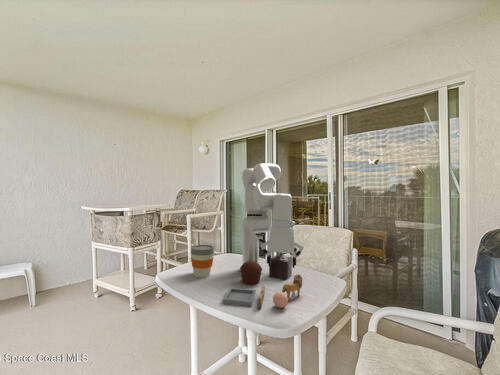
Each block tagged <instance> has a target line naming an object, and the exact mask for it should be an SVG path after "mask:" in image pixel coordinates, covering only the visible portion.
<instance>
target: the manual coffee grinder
mask: <svg viewBox="0 0 500 375" xmlns="http://www.w3.org/2000/svg"><path fill="white" fill-rule="evenodd" d="M297 251H298V247H296V246H294V252H295V253H296V252H297ZM289 255H291V256H293V255H292V254H291V253H289ZM292 264H293V257H289V256H286V255H283V253H280V254H278V255H277V254H276V255H274V256H271V265H270V266H268V277H270V278H276V279H282V280H288V279H289V278H290V277H292V275H291V274H293V267H292ZM288 277H289V278H288ZM287 278H288V279H287Z"/></svg>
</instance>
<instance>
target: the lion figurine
mask: <svg viewBox="0 0 500 375" xmlns="http://www.w3.org/2000/svg"><path fill="white" fill-rule="evenodd" d="M302 287H303V277H302V275H301V274H299V273H296V274H295V275H293V281H292V282H291V283H290V282H289V283H285V284H283V286H282V288H281V289H282V291H281V292H283V293H285V294H286V295H287V298H288V301H289V300H290V302H292V301H293V299H292V298H290V295H292V296H295V295H297V297H298V296H300V297H301V295H300V294H301V293H300V291H301V289H302ZM296 291H297V294H296ZM291 292H292V294H291ZM291 300H292V301H291Z"/></svg>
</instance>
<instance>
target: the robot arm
mask: <svg viewBox="0 0 500 375" xmlns="http://www.w3.org/2000/svg"><path fill="white" fill-rule="evenodd" d="M241 174H242V176H241V181H242V185H243V188H244V211H245V213H246V214H248V215H250V216H245V217H243V219H242V220H241V228H242V265H243V264H244V263H245V262H248V261H253V262H256V263H258V264H259V265H260V262H259V261H260V260H259V259H260V248H261V251H262V253H264V254H265V256H266V264H267V265H268V267H269V266H270V265H271V258H272V255H271V254H272V253H282V254H283V253H285V254H290V253H291V254H292V255H291V256H292V269H295V267H296V266H297V258H298V257H299V256H300V255H301V253H302V252H303V250H304V246H303V245H301V244H300V243H298V242H297V241H295V231H294V230H295V229H294V227H293V226H295V225H296V221H293V220H292V214H293V213H292V212H293V211H292V210H293V209H292V208H293V205H292V204H293V201H292V200H293V199H292V195H291V194H290V193H279V192H278V193H277V192H269V191H271V190H272V189H273V188H274V187H275V186H276V181H278V180H279V179H280V178H281V175H282V171H281V167H280V166H279V165H278V164H275V163H262V162H260V163H257V164H255V165H254V167H251V168H249V167H248V168H244V170H243V171H242V173H241ZM251 215H252V216H251ZM253 215H254V216H253ZM255 215H262V216H255ZM259 233H269V240H267V241H265V242H263V243H261V244H260V239H259V237H258V236H257V235H256V234H259ZM266 246H268V249H269V250H267V248H266ZM294 246H295V247H296V248H297V251H296V252H294ZM240 268H241V266H240V267H239V271H240V272H241V270H240Z"/></svg>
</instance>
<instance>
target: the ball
mask: <svg viewBox="0 0 500 375" xmlns="http://www.w3.org/2000/svg"><path fill="white" fill-rule="evenodd" d="M288 301H289V299H288V298H287V293H286V292H285V293H283V292H282V291H277V292H275V293H274V294H273V297H272V302H273V304H274V306H275V307H277V308H279V309H282V308H285V307H286V306H287V304H288V303H289V302H288Z"/></svg>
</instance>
